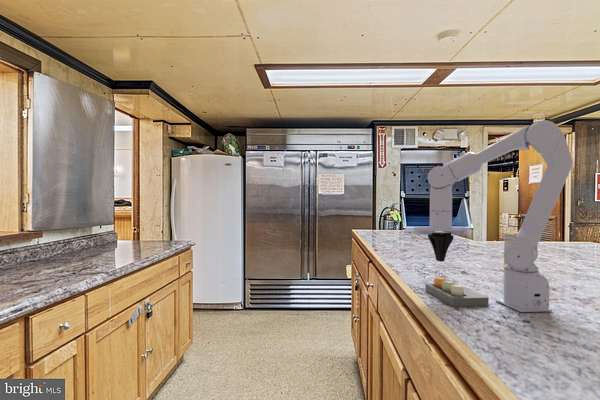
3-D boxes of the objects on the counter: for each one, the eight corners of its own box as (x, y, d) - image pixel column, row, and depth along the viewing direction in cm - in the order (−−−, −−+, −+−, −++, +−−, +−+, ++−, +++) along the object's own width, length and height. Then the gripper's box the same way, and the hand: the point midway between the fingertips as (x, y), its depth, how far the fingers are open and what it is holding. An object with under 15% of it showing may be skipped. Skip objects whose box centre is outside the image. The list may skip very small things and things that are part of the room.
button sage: (456, 292, 96) (456, 283, 96) (445, 292, 96) (445, 283, 96) (450, 289, 99) (450, 280, 99) (440, 290, 99) (440, 281, 99)
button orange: (447, 288, 101) (448, 279, 101) (437, 288, 100) (437, 279, 100) (442, 285, 104) (442, 277, 104) (432, 286, 103) (432, 277, 103)
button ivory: (466, 297, 92) (466, 287, 92) (454, 297, 91) (454, 287, 91) (459, 294, 95) (459, 284, 95) (448, 294, 94) (448, 285, 94)
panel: (488, 305, 90) (488, 297, 90) (453, 306, 89) (453, 298, 89) (455, 290, 105) (455, 283, 105) (425, 291, 104) (425, 283, 104)
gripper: (458, 210, 107) (457, 258, 107) (409, 210, 105) (408, 258, 105) (472, 211, 100) (471, 262, 100) (420, 211, 98) (419, 263, 98)
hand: (440, 260), depth 102 cm, fingers closed
